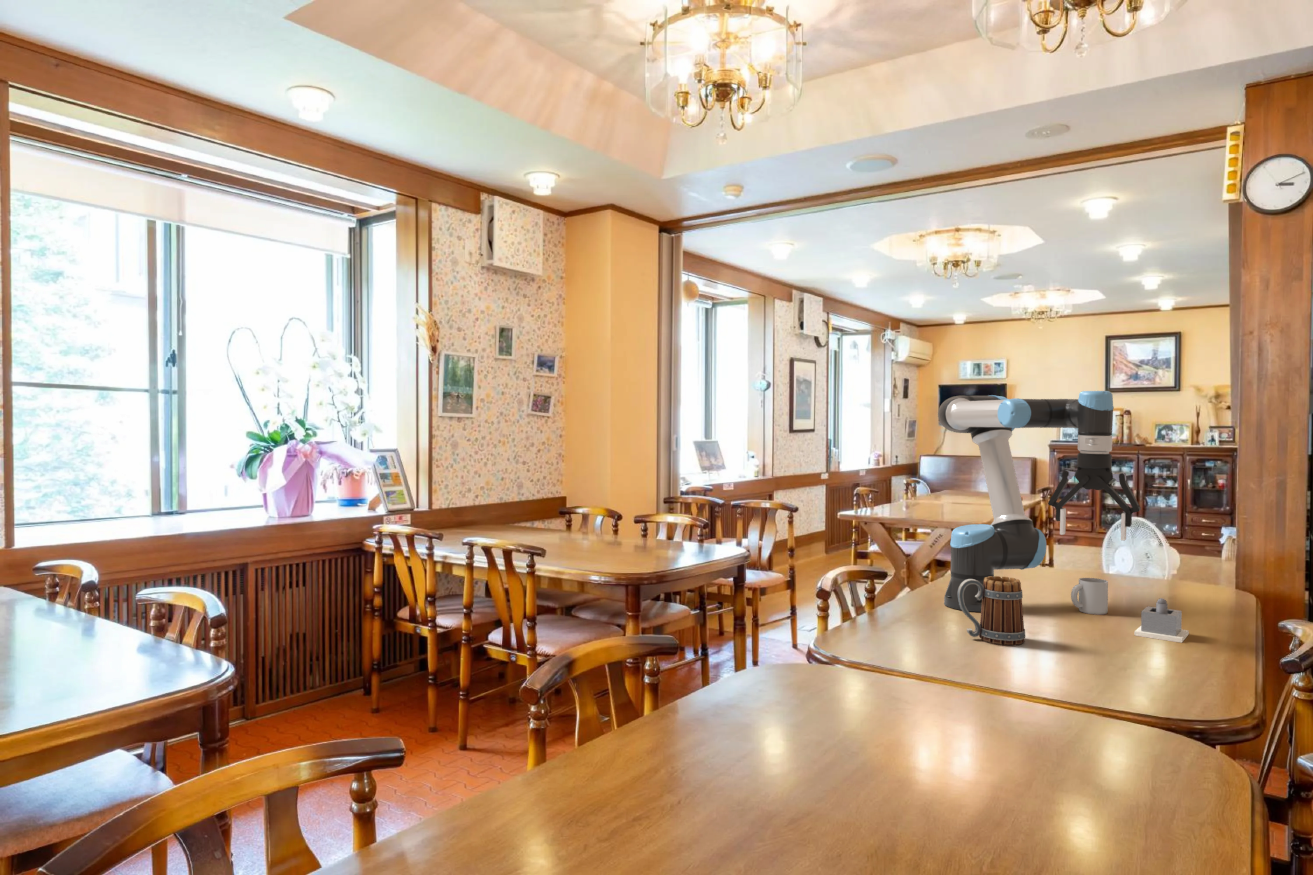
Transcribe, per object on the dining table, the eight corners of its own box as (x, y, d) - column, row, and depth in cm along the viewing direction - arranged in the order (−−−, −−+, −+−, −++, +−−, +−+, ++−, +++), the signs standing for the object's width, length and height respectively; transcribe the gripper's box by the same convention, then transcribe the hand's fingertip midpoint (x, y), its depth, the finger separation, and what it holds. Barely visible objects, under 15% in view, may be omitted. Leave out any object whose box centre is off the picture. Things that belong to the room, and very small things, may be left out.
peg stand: (1134, 635, 198) (1134, 598, 198) (1142, 627, 205) (1142, 592, 205) (1181, 642, 191) (1182, 604, 191) (1188, 634, 199) (1188, 597, 199)
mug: (1016, 634, 198) (1016, 575, 198) (1032, 646, 188) (1032, 583, 188) (952, 633, 200) (952, 574, 200) (964, 645, 189) (964, 582, 189)
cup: (1113, 614, 220) (1113, 582, 219) (1079, 615, 219) (1079, 583, 219) (1097, 608, 227) (1097, 577, 227) (1063, 609, 226) (1064, 578, 226)
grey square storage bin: (1141, 631, 198) (1141, 611, 198) (1147, 625, 204) (1147, 606, 203) (1176, 636, 193) (1176, 616, 193) (1181, 630, 199) (1181, 610, 199)
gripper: (1036, 451, 203) (1035, 533, 203) (1150, 455, 187) (1148, 544, 188) (1044, 450, 208) (1042, 530, 209) (1155, 453, 193) (1152, 540, 194)
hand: (1092, 537), depth 199 cm, fingers open, 13 cm apart
